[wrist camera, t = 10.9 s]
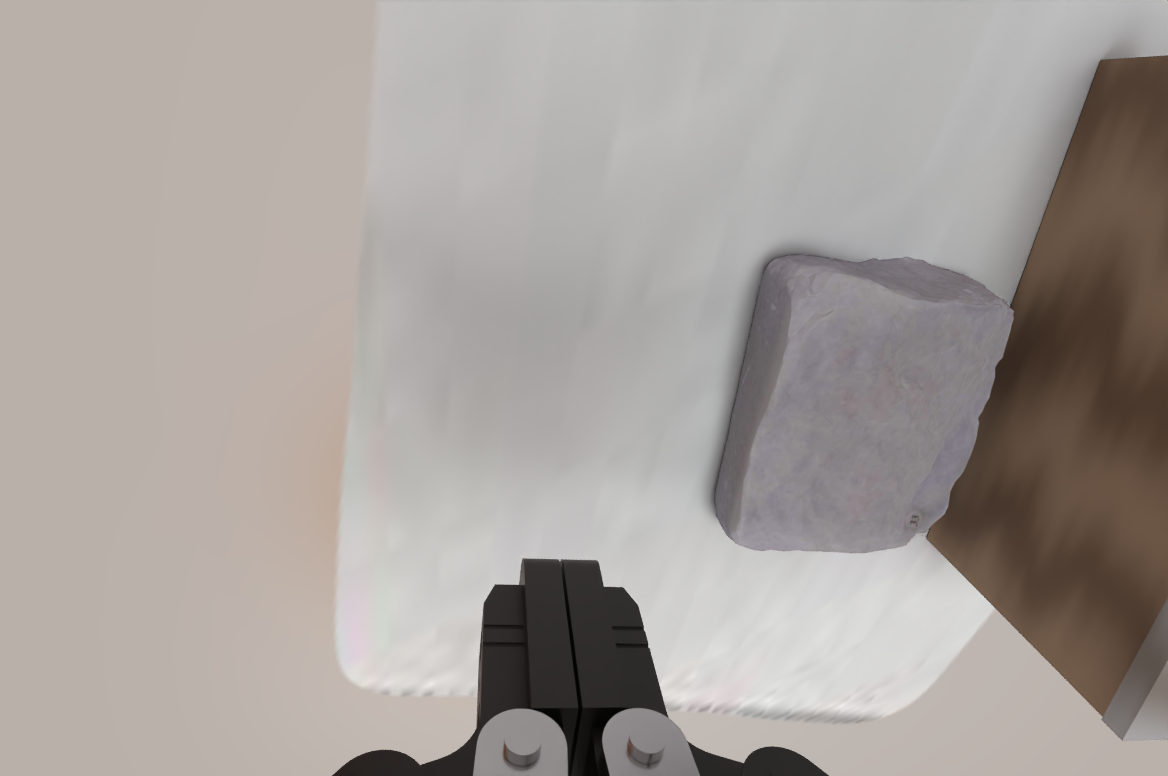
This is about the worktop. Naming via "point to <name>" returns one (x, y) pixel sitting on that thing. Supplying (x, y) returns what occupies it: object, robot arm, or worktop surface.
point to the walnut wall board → (1085, 419)
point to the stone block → (856, 402)
